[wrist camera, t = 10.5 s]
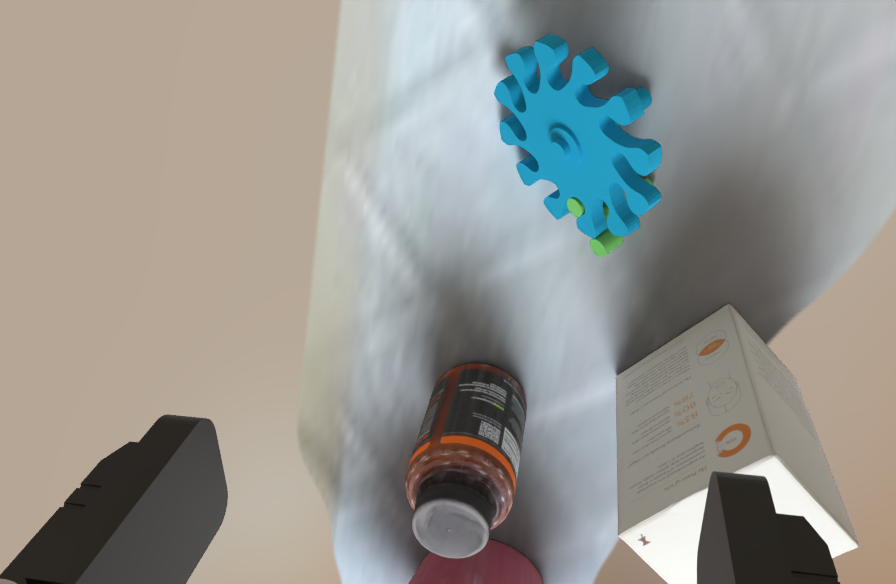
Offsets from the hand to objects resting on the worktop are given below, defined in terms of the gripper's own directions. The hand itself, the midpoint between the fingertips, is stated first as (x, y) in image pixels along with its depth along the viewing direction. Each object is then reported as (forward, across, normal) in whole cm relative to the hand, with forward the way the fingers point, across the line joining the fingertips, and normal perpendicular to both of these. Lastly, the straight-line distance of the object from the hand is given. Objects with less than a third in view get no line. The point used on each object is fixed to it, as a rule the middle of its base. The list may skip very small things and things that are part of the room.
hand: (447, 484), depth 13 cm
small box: (+30, -9, +17) cm, 36 cm away
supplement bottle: (+30, +4, +20) cm, 37 cm away
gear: (+30, -1, +3) cm, 31 cm away
